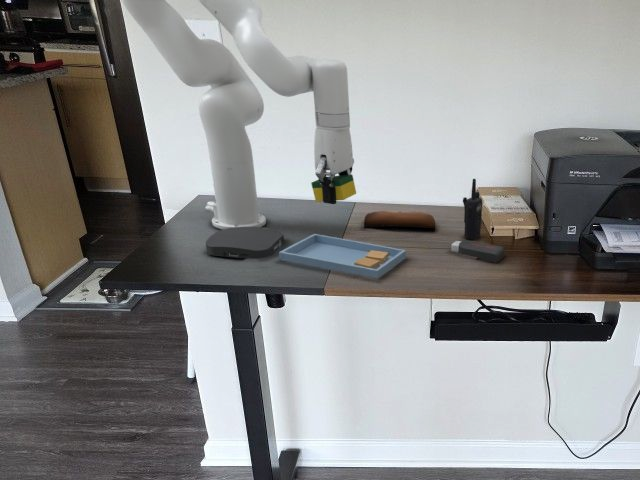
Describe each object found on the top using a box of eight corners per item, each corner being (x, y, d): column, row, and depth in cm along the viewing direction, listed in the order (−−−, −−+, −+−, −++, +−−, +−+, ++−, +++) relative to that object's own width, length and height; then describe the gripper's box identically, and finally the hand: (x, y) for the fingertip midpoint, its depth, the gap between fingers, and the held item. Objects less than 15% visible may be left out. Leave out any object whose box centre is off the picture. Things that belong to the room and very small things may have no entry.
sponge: (315, 202, 159) (311, 182, 157) (329, 195, 164) (324, 176, 163) (343, 200, 157) (339, 180, 155) (356, 193, 162) (352, 174, 160)
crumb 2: (365, 261, 149) (365, 255, 149) (371, 256, 153) (371, 250, 152) (382, 264, 149) (382, 258, 148) (388, 258, 152) (388, 252, 152)
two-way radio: (473, 241, 168) (476, 180, 161) (457, 238, 170) (459, 178, 162) (482, 235, 173) (485, 176, 165) (466, 232, 174) (469, 173, 167)
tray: (280, 262, 147) (279, 252, 146) (315, 243, 159) (314, 233, 158) (377, 281, 142) (377, 270, 140) (406, 260, 154) (406, 250, 152)
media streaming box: (228, 235, 159) (226, 223, 158) (289, 240, 159) (288, 228, 158) (200, 256, 147) (198, 243, 145) (267, 262, 147) (265, 249, 145)
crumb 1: (354, 268, 145) (354, 262, 145) (364, 263, 149) (364, 257, 148) (370, 272, 144) (369, 266, 143) (380, 266, 147) (380, 260, 147)
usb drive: (496, 263, 156) (497, 251, 155) (449, 253, 159) (449, 242, 158) (504, 256, 160) (505, 245, 159) (458, 247, 163) (458, 236, 162)
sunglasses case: (433, 220, 179) (434, 202, 174) (434, 240, 176) (435, 223, 170) (364, 218, 177) (363, 200, 171) (364, 239, 173) (363, 221, 167)
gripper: (337, 113, 160) (341, 189, 169) (296, 124, 146) (303, 206, 154) (365, 117, 158) (368, 193, 167) (327, 127, 144) (333, 210, 153)
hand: (337, 198), depth 161 cm, fingers closed on sponge, 6 cm apart
